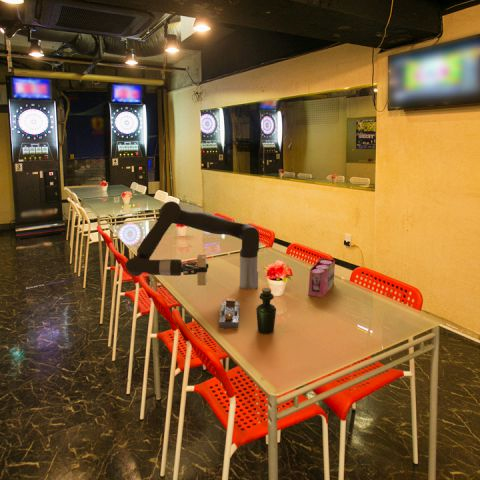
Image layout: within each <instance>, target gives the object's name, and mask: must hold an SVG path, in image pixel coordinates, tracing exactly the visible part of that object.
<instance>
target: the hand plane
mask: <svg viewBox="0 0 480 480" xmlns="http://www.w3.org/2000/svg"><path fill="white" fill-rule="evenodd" d="M239 320H240V301H236V298H234V297H233V298H232V297H231V298H229V297H228V298H226V299H225V301H222V302H221V308H220V314H219V321H218V329H219V328H238V329H239V324H240V323H239V322H240V321H239Z"/></svg>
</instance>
